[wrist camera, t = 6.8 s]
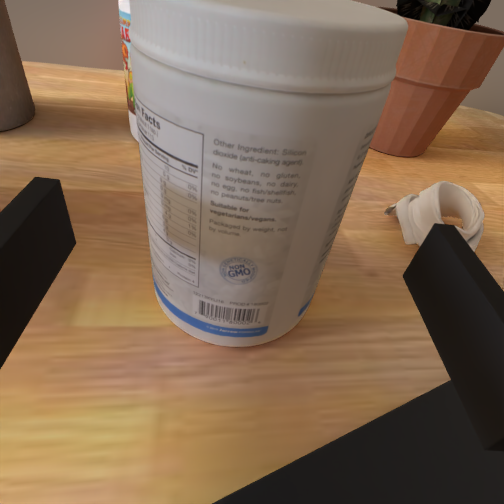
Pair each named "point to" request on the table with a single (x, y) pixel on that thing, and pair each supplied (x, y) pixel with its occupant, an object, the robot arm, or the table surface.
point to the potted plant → (434, 71)
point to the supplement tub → (252, 149)
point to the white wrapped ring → (439, 212)
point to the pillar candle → (12, 79)
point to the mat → (392, 462)
